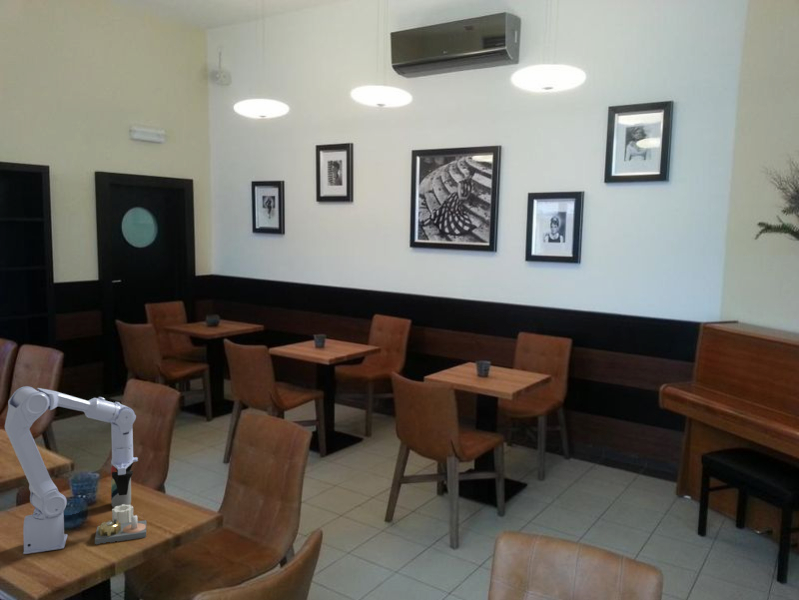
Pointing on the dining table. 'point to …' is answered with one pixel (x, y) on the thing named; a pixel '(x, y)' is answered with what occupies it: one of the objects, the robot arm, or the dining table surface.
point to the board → (125, 532)
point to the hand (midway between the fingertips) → (123, 489)
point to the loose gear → (122, 513)
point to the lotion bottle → (115, 497)
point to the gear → (109, 528)
